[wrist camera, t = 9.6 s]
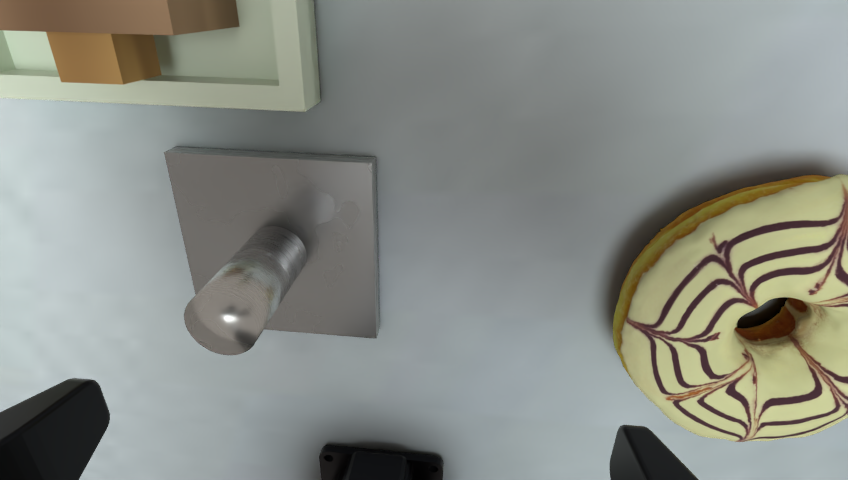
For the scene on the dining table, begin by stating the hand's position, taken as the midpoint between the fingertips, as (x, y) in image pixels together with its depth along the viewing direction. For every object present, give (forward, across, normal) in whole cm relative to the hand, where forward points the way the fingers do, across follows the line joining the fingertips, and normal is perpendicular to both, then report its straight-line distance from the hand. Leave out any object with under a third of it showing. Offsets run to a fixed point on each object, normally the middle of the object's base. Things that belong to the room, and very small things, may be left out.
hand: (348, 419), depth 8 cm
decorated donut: (+12, -13, +4) cm, 18 cm away
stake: (+12, +6, +3) cm, 14 cm away
